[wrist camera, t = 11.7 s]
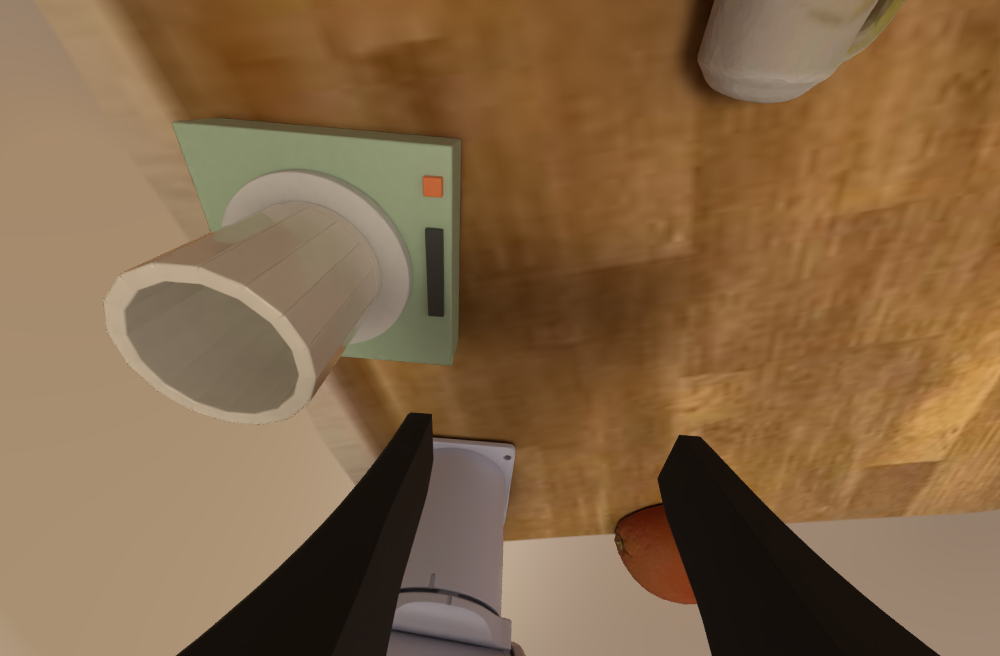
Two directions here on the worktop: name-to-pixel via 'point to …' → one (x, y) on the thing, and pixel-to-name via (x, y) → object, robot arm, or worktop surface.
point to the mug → (785, 43)
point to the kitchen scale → (352, 213)
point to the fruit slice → (653, 555)
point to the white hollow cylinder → (247, 312)
